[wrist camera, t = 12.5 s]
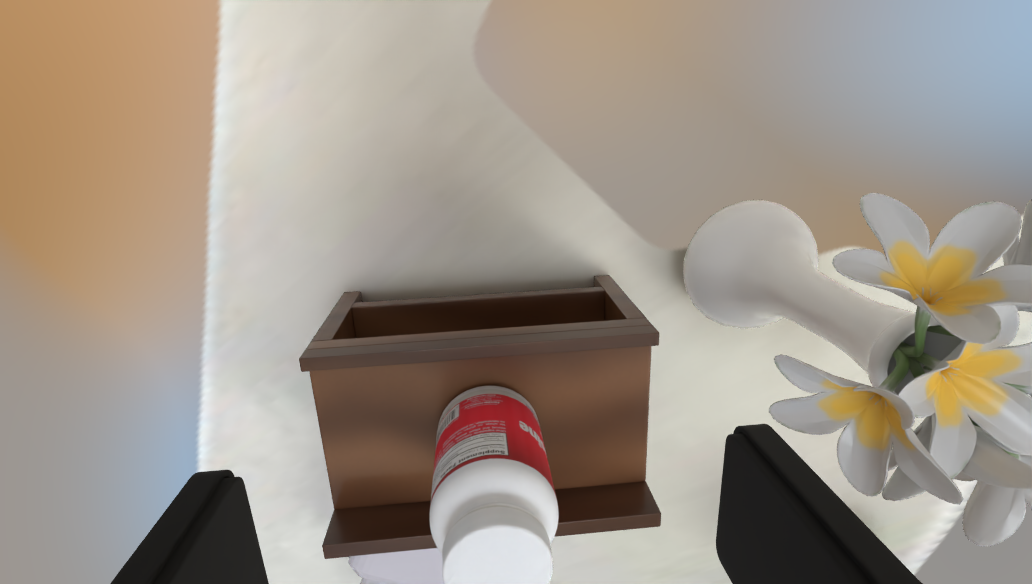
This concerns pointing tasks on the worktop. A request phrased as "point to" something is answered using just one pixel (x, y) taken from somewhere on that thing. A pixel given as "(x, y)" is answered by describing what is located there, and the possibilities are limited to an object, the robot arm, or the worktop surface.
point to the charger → (400, 567)
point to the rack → (469, 364)
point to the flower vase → (895, 345)
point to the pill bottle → (492, 491)
